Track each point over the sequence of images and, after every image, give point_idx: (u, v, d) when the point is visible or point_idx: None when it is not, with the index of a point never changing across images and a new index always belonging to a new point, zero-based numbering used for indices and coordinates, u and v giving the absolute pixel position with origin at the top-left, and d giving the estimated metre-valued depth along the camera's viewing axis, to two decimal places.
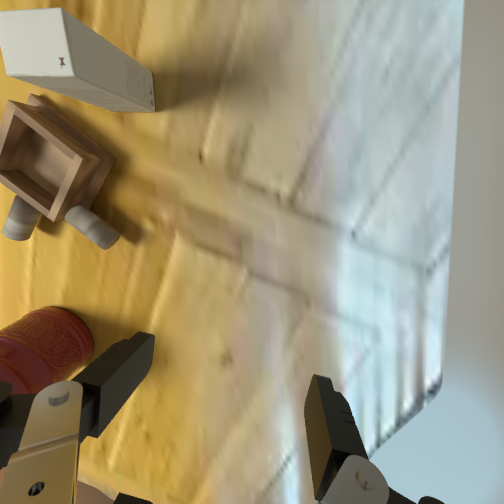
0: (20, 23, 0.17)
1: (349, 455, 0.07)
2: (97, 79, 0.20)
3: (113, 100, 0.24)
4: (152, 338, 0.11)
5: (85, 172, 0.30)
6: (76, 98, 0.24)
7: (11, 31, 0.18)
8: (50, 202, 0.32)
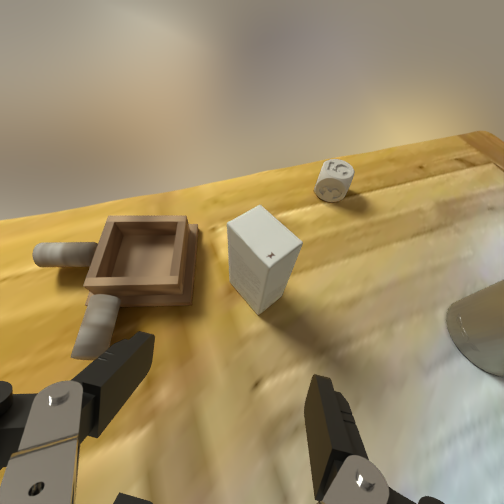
0: (269, 221, 0.22)
1: (349, 455, 0.07)
2: (270, 278, 0.21)
3: (251, 287, 0.25)
4: (152, 338, 0.11)
5: (162, 289, 0.27)
6: (230, 261, 0.26)
7: (258, 217, 0.22)
8: (105, 272, 0.28)
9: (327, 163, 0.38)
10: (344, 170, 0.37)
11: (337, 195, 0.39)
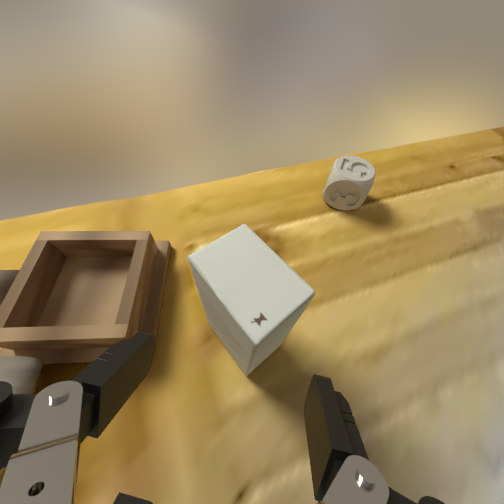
0: (258, 254, 0.13)
1: (349, 455, 0.07)
2: (260, 349, 0.13)
3: (233, 346, 0.17)
4: (152, 338, 0.11)
5: (105, 342, 0.19)
6: (203, 304, 0.18)
7: (241, 246, 0.13)
8: (26, 314, 0.20)
9: (340, 160, 0.30)
10: (362, 170, 0.29)
11: (353, 202, 0.30)
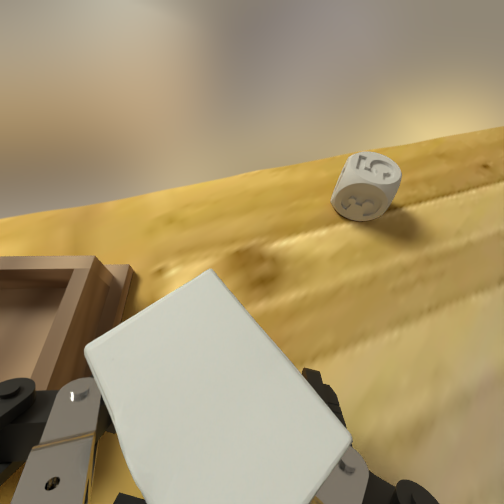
0: (232, 339, 0.06)
1: None
2: None
3: None
4: None
5: None
6: None
7: (199, 322, 0.07)
8: None
9: (355, 157, 0.23)
10: (385, 170, 0.22)
11: (371, 211, 0.24)
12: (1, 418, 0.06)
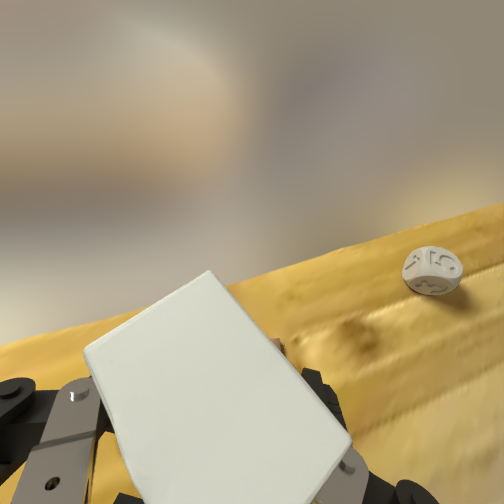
0: (232, 340, 0.06)
1: None
2: None
3: None
4: None
5: None
6: None
7: (198, 324, 0.07)
8: None
9: (428, 253, 0.32)
10: (450, 264, 0.31)
11: (437, 290, 0.33)
12: (1, 418, 0.06)
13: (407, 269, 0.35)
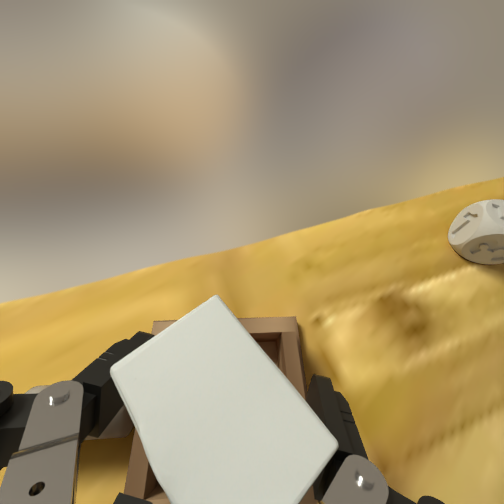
0: (237, 359, 0.07)
1: (349, 455, 0.07)
2: None
3: None
4: None
5: None
6: None
7: (207, 344, 0.08)
8: None
9: (489, 206, 0.24)
10: None
11: (500, 257, 0.25)
12: None
13: (456, 233, 0.27)
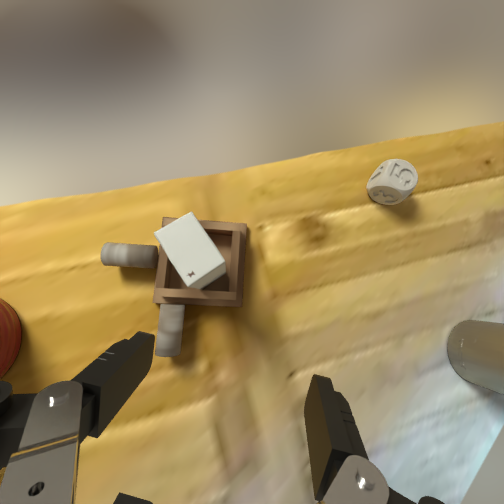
0: (196, 235, 0.22)
1: (349, 455, 0.07)
2: (196, 285, 0.24)
3: None
4: (152, 338, 0.11)
5: None
6: None
7: (187, 229, 0.22)
8: (168, 277, 0.31)
9: (392, 165, 0.35)
10: (407, 178, 0.35)
11: (390, 200, 0.37)
12: None
13: (373, 179, 0.38)
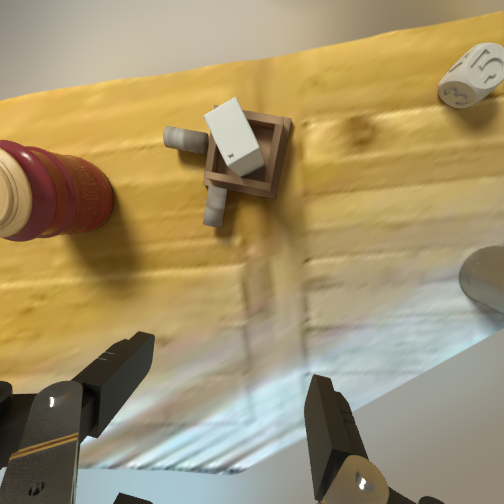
0: (238, 120, 0.25)
1: (349, 455, 0.07)
2: (235, 167, 0.29)
3: None
4: (152, 338, 0.11)
5: (256, 188, 0.37)
6: None
7: (230, 114, 0.25)
8: (215, 163, 0.37)
9: (479, 52, 0.28)
10: (493, 72, 0.29)
11: (462, 102, 0.32)
12: None
13: (451, 72, 0.32)
